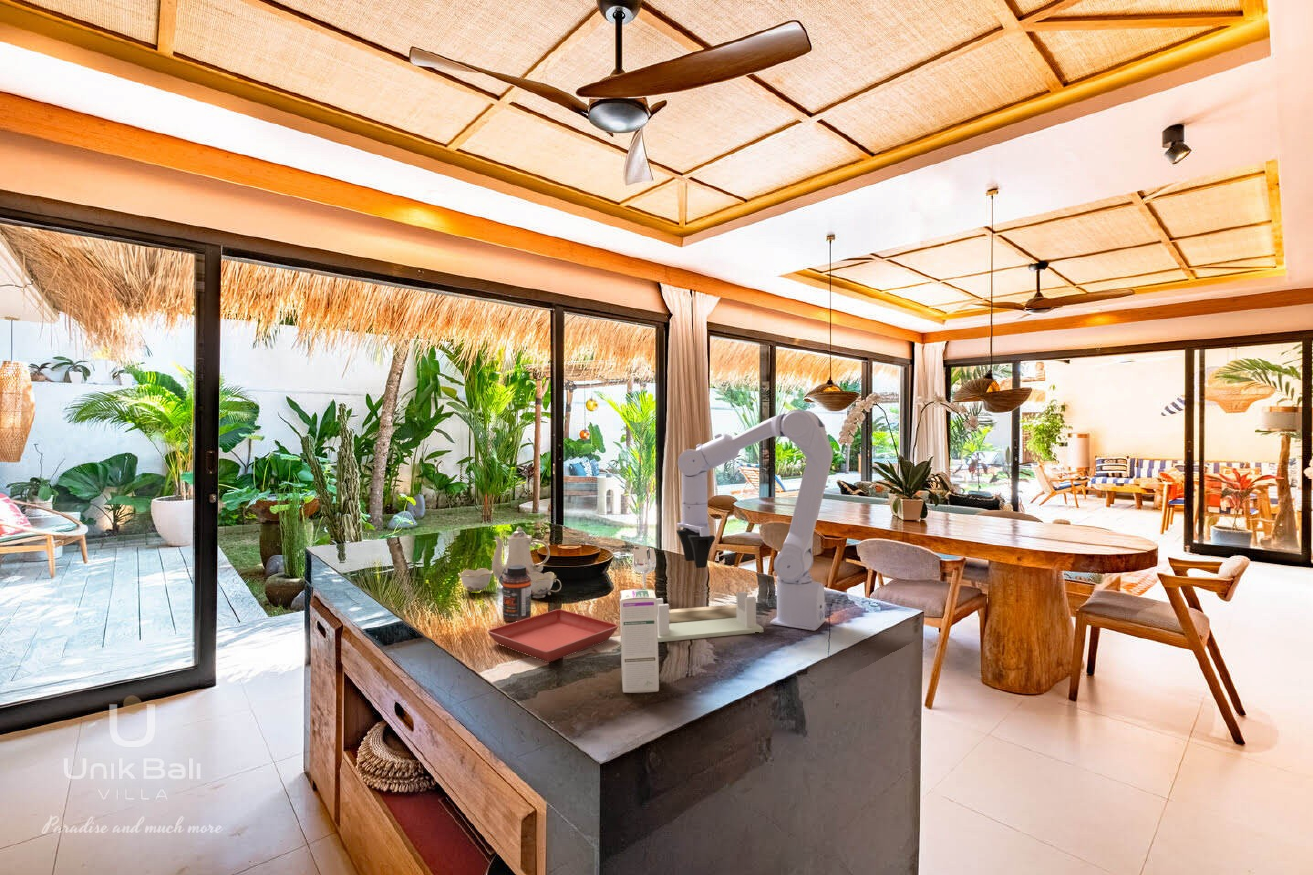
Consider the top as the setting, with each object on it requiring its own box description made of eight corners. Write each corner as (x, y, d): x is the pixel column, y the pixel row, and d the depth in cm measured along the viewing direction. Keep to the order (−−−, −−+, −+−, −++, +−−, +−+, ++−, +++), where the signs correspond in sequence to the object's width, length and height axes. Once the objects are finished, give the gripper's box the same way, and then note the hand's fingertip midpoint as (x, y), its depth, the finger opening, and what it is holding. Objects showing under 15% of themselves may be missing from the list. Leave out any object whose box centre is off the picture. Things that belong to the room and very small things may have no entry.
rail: (738, 615, 134) (738, 604, 134) (742, 618, 132) (742, 607, 132) (640, 623, 129) (640, 611, 129) (642, 626, 127) (642, 614, 127)
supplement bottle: (497, 621, 131) (496, 568, 130) (513, 613, 136) (513, 562, 136) (520, 624, 128) (520, 570, 128) (536, 616, 134) (536, 564, 134)
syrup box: (659, 692, 93) (658, 597, 93) (621, 693, 93) (620, 598, 93) (656, 677, 99) (655, 587, 99) (620, 678, 99) (619, 588, 99)
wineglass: (653, 600, 145) (653, 550, 145) (630, 599, 146) (629, 549, 146) (658, 594, 151) (658, 546, 151) (635, 593, 152) (635, 545, 152)
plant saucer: (546, 670, 104) (546, 650, 104) (485, 647, 116) (485, 629, 116) (620, 642, 118) (620, 624, 118) (559, 624, 129) (559, 608, 129)
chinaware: (447, 603, 151) (443, 537, 150) (478, 580, 168) (475, 521, 166) (555, 608, 146) (552, 540, 145) (577, 584, 163) (574, 523, 161)
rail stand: (747, 620, 129) (747, 589, 129) (763, 631, 121) (763, 599, 121) (646, 629, 124) (645, 597, 124) (655, 642, 116) (655, 608, 116)
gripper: (668, 500, 143) (669, 558, 143) (687, 507, 129) (687, 571, 129) (697, 499, 145) (698, 556, 145) (718, 506, 131) (719, 569, 131)
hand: (695, 563), depth 137 cm, fingers open, 7 cm apart
